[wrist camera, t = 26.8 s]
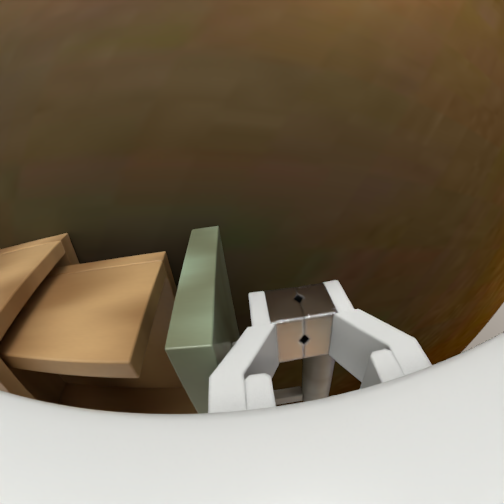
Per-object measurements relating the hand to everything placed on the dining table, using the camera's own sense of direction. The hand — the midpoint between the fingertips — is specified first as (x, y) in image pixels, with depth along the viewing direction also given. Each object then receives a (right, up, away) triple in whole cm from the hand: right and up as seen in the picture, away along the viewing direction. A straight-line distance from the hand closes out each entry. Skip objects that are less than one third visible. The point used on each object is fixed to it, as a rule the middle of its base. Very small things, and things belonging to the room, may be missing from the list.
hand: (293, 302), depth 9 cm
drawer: (-7, -3, +5) cm, 9 cm away
